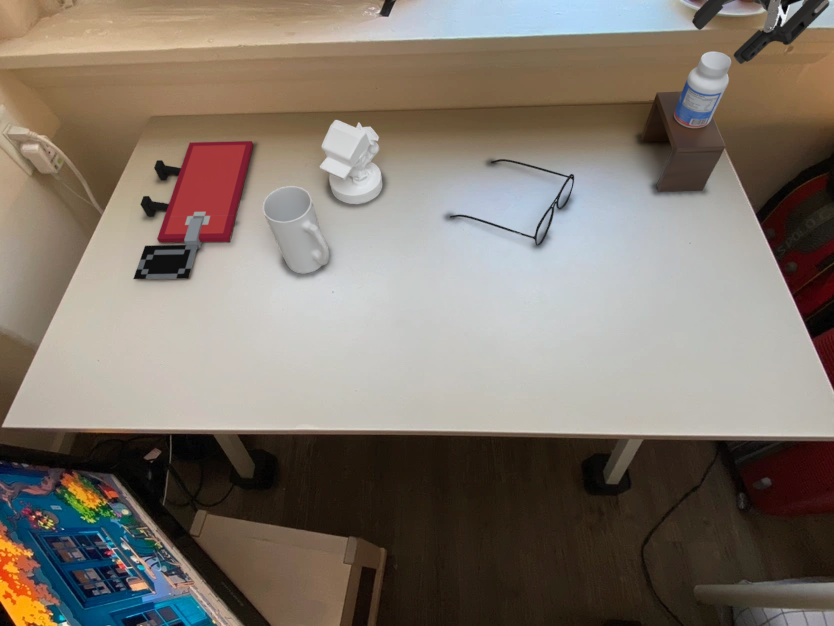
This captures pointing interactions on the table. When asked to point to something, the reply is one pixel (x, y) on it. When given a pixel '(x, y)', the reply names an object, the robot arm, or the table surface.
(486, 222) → the glasses
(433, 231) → the table surface
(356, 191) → the character figurine
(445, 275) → the table surface
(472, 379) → the table surface
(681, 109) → the pill bottle
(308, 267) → the mug
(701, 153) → the walnut shelf
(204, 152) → the red board with handle
